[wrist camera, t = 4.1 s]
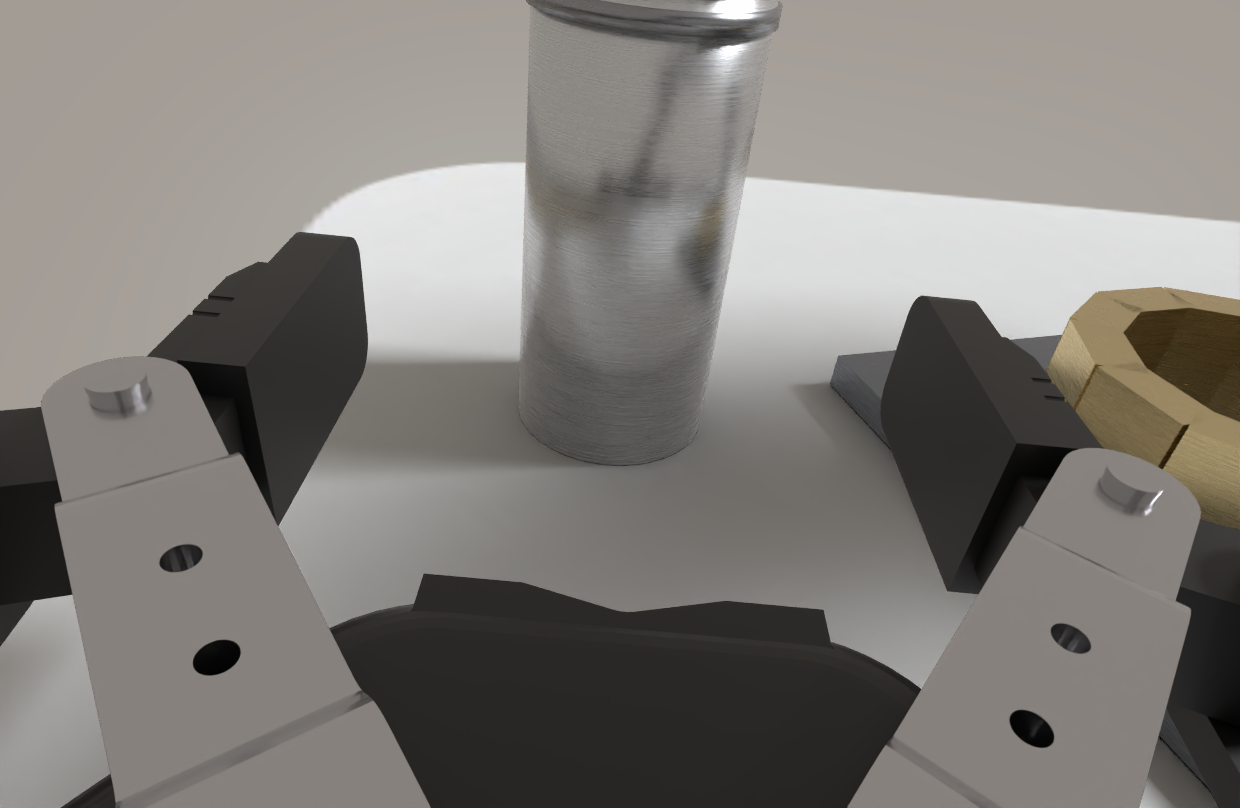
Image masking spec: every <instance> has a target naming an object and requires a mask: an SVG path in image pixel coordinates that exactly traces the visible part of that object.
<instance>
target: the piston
mask: <svg viewBox="0 0 1240 808" xmlns="http://www.w3.org/2000/svg"><path fill="white" fill-rule="evenodd" d="M526 2H527V3H528V4H529V5H531V7H530V39H529V40H530V41H529V74H528V75H529V76H528V106H527V140H526V173H525V207H524V240H523V274H522V307H521V341H520V374H519V413H520V417H521V419H522V421H523V423H524V425H525V427H526V428H527V429H528V431H529V432H530V433H531V434H532V435H533V436H534V437H535V438H536V439H538V440H539V441H540V442H542V443H543V444H544V445H546V446H548V447H550V448H551V449H553V450H555V451H557V452H559V453H562V454H564V455H567V456H569V457H572V458H575V459H579V460H583V461H587V462H592V463H598V464H607V465H634V464H642V463H648V462H653V461H656V460H660V459H663V458H665V457H668V456H670V455H673V454H674V453H676V452H678V451H680V450H681V449H683V448H684V447H685V446H686V445H688V444H689V443H690V441H691V440H692V439H693V438H694V436H695V435H696V433H697V431H698V428H699V424H700V419H701V413H702V408H703V402H704V397H705V392H706V386H707V381H708V376H709V370H710V365H711V360H712V354H713V349H714V343H715V338H716V333H717V327H718V322H719V317H720V311H721V306H722V300H723V295H724V290H725V284H726V279H727V274H728V268H729V263H730V258H731V252H732V247H733V241H734V236H735V231H736V225H737V220H738V215H739V209H740V204H741V198H742V193H743V188H744V182H745V177H746V172H747V166H748V161H749V155H750V150H751V145H752V139H753V134H754V129H755V123H756V118H757V112H758V107H759V102H760V96H761V91H762V86H763V80H764V75H765V70H766V64H767V59H768V53H769V48H770V43H771V37H772V33H773V32H775V31H776V30H777V29H778V27H779V22H780V16H781V11H782V4H781V3H780V2H779V1H778V0H526Z"/></svg>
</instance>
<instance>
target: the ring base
mask: <svg viewBox="0 0 1240 808" xmlns="http://www.w3.org/2000/svg"><path fill="white" fill-rule="evenodd" d="M1011 341H1012V342H1013V343H1015V344H1016V345H1018V346H1019V347H1020V348H1022V349H1023V350H1025V351H1026V352H1028V353H1029V354H1030V355H1032V356H1033V357H1035V358H1036V360H1037V361H1038V362H1039V364H1040V365H1041V366H1042V368H1043V369H1044V370H1045V372H1046V373H1047V374H1048V376H1049V377H1050V378H1051V384H1055V385H1056V386H1057V387H1058V389H1059V390H1060V391H1061V393H1062V394H1063V395H1064V397H1065V399H1064V402H1069V403H1070V405H1071V406H1072V407H1073V409H1074V410H1075V411H1076V413H1077V414H1078V415H1079V417H1080V418H1081V419H1082V421H1083V422H1084V423H1085V425H1086V426H1087V427H1088V428H1089V430H1090V431H1091V432H1092V434H1093V435H1094V436H1095V438H1096V439H1097V440H1098V442H1099V443H1100V444H1101V446H1102V447H1103V448H1104V449H1109V450H1114V451H1118V452H1122V453H1125V454H1129V455H1132V456H1134V457H1137V458H1140V459H1142V460H1145V461H1147V462H1149V463H1151V464H1153V465H1155V466H1157V467H1159V468H1160V469H1162V470H1164V471H1166V472H1167V473H1169V474H1170V475H1172V476H1173V477H1175V478H1176V479H1177V480H1178V481H1180V482H1181V483H1182V484H1183V485H1184V486H1185V487H1186V488H1187V489H1188V490H1189V491H1190V492H1191V493H1192V494H1193V496H1194V497H1195V498H1196V500H1197V502H1198V504H1199V506H1200V510H1201V516H1200V519H1202V520H1206V521H1209V522H1212V523H1216V524H1219V525H1223V526H1226V527H1230V528H1233V529H1237V530H1240V300H1237V299H1231V298H1225V297H1219V296H1213V295H1207V294H1201V293H1195V292H1189V291H1184V290H1178V289H1172V288H1166V287H1164V289H1163V288H1162V287H1154V288H1141V289H1127V290H1113V291H1100V292H1098V293H1097V292H1096V293H1095V294H1094V295H1093V296H1092V297H1091V298H1090V299H1089V300H1088V301H1087V302H1086V303H1085V304H1084V305H1082V306H1081V307H1080V308H1079V309H1078V310H1077V311H1076V312H1075V313H1074V314H1073V315H1072V316H1071V317H1070V319H1069V321H1068V323H1067V326H1066V328H1065V330H1064V332H1063V334H1062V335H1057V336H1046V337H1035V338H1024V339H1014V340H1011ZM895 352H896V351H885V352H874V353H864V354H853V355H842V356H838V359H837V362H836V366H835V369H834V373H833V376H832V379H831V383H830V385H831V386H832V387H833V388H834V389H835V390H836V391H837V392H838V393H839V394H840V395H841V396H842V397H843V398H844V400H845V401H846V402H847V403H848V404H849V405H850V406H851V407H852V408H853V409H854V410H855V411H856V412H857V413H858V414H859V416H860V417H861V418H862V419H863V420H864V421H865V422H866V423H867V424H868V425H869V426H870V427H871V428H872V429H873V430H874V432H875V433H876V434H877V435H878V436H879V437H880V438H881V439H882V440H883V441H884V442H885V443H886V444H887V445H888V447H889V448H890V446H889V443H888V441H887V438H886V436H885V433H884V431H883V428H882V423H881V399H882V393H883V389H884V385H885V382H886V379H887V376H888V373H889V370H890V367H891V364H892V361H893V358H894V355H895ZM890 449H891V448H890ZM1159 736H1160V737H1161V738H1162V739H1163V740H1164V741H1165V742H1166V743H1167V744H1168V746H1169V747H1170V748H1171V749H1172V750H1173V751H1174V752H1175V753H1176V754H1177V755H1178V756H1179V757H1180V758H1181V759H1182V761H1183V762H1184V763H1185V764H1186V765H1187V766H1188V767H1189V768H1190V769H1191V770H1192V771H1193V772H1194V773H1195V774H1196V775H1197V777H1198V778H1199V779H1200V780H1201V781H1202V782H1203V783H1204V784H1205V785H1206V786H1207V784H1206V782H1205V780H1204V779H1203V777H1202V775H1201V773H1200V771H1199V769H1198V767H1197V765H1196V764H1195V762H1194V760H1193V758H1192V756H1191V754H1190V752H1189V751H1188V749H1187V747H1186V745H1185V743H1184V741H1183V739H1182V737H1181V736H1180V734H1179V732H1178V730H1177V728H1176V726H1175V724H1174V722H1173V721H1172V719H1171V717H1170V715H1169V713H1168V711H1167V709H1166V710H1165V714H1164V718H1163V721H1162V725H1161V729H1160V732H1159ZM1207 787H1208V786H1207Z"/></svg>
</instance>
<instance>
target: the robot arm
mask: <svg viewBox="0 0 1240 808" xmlns="http://www.w3.org/2000/svg"><path fill="white" fill-rule="evenodd" d="M367 350H368V333H367V323H366V312H365V302H364V292H363V281H362V271H361V261H360V253H359V248H358V245H357V243H356V241H355V239H354V238H352V237H345V236H335V235H325V234H315V233H305V232H298V233H296V234H295V235H294V236H293V237H292V238H291V239H290V240H289V241H288V242H287V243H286V244H285V245H284V246H283V247H282V248H281V250H280V251H279V252H278V253H277V254H276V255H275V256H274V257H273V258H272V259H271V260H270V261H269V262H268V263H264V262H257V263H255V264H253V265H251V266H248V267H246V268H245V269H242V270H240V271H238V272H236V273H233V274H231V275H229V276H227V277H226V278H225V279H224V280H223V281H222V282H221V283H220V284H219V285H218V286H217V287H216V288H215V289H214V290H213V291H212V292H211V293H210V294H209V295H208V299H204V300H203V301H202V302H201V303H200V304H199V305H198V306H197V307H196V308H195V309H194V310H193V315H188V316H187V317H186V318H185V319H184V320H183V321H182V322H181V323H180V324H179V325H178V326H177V327H176V328H175V329H174V330H173V331H172V332H171V333H170V334H169V335H168V336H167V337H166V338H165V339H164V340H163V341H162V342H161V343H160V344H159V345H158V346H157V347H156V348H155V349H154V350H153V351H152V352H151V353H150V354H149V355H148V356H147V357H124V358H117V359H110V360H106V361H102V362H98V363H94V364H91V365H88V366H85V367H83V368H80V369H78V370H75V371H73V372H71V373H69V374H67V375H66V376H64V377H62V378H61V379H60V380H58V381H57V382H56V383H54V384H53V385H52V386H51V387H50V388H49V389H48V390H47V391H46V393H45V394H44V396H43V399H42V401H41V407H37V408H27V409H17V410H4V411H0V646H1V645H2V643H3V642H4V641H5V639H6V638H7V637H8V635H9V634H10V633H11V631H12V630H13V629H14V627H15V626H16V625H17V623H18V622H19V620H20V619H21V618H22V616H23V615H24V614H25V612H26V611H27V610H28V608H29V607H30V606H31V604H32V602H33V601H34V600H40V599H46V598H53V597H60V596H66V595H73V599H74V603H75V608H76V613H77V618H78V622H79V627H80V632H81V636H82V641H83V646H84V651H85V655H86V660H87V665H88V669H89V674H90V679H91V684H92V688H93V693H94V698H95V703H96V707H97V712H98V717H99V721H100V726H101V731H102V736H103V740H104V745H105V750H106V754H107V759H108V764H109V769H110V773H111V774H109V775H108V776H106V777H105V778H103V779H102V780H100V781H99V782H98V783H96V784H95V785H93V786H92V787H90V788H89V789H87V790H86V791H84V792H83V793H81V794H80V795H79V796H77V797H76V798H74V799H73V800H71V801H70V802H68V803H67V804H65V805H64V806H62V807H61V808H1139V806H1140V803H1141V799H1142V795H1143V792H1144V788H1145V784H1146V781H1147V777H1148V773H1149V769H1150V766H1151V762H1152V758H1153V755H1154V751H1155V747H1156V743H1157V740H1158V736H1159V732H1160V729H1161V725H1162V721H1163V718H1164V714H1165V710H1166V709H1167V711H1168V713H1169V715H1170V717H1171V719H1172V721H1173V722H1174V724H1175V726H1176V728H1177V730H1178V732H1179V734H1180V736H1181V737H1182V739H1183V741H1184V743H1185V745H1186V747H1187V749H1188V751H1189V752H1190V754H1191V756H1192V758H1193V760H1194V762H1195V764H1196V765H1197V767H1198V769H1199V771H1200V773H1201V775H1202V777H1203V779H1204V780H1205V782H1206V784H1207V786H1208V788H1209V790H1210V792H1211V794H1212V795H1213V797H1214V799H1215V801H1216V803H1217V805H1218V807H1219V808H1240V530H1237V529H1233V528H1230V527H1226V526H1223V525H1219V524H1216V523H1212V522H1209V521H1206V520H1202V519H1200V516H1201V510H1200V506H1199V504H1198V502H1197V500H1196V498H1195V497H1194V496H1193V494H1192V493H1191V492H1190V491H1189V490H1188V489H1187V488H1186V487H1185V486H1184V485H1183V484H1182V483H1181V482H1180V481H1178V480H1177V479H1176V478H1175V477H1173V476H1172V475H1170V474H1169V473H1167V472H1166V471H1164V470H1162V469H1160V468H1159V467H1157V466H1155V465H1153V464H1151V463H1149V462H1147V461H1145V460H1142V459H1140V458H1137V457H1134V456H1132V455H1129V454H1125V453H1122V452H1118V451H1114V450H1109V449H1104V448H1103V447H1102V446H1101V444H1100V443H1099V442H1098V440H1097V439H1096V438H1095V436H1094V435H1093V434H1092V432H1091V431H1090V430H1089V428H1088V427H1087V426H1086V425H1085V423H1084V422H1083V421H1082V419H1081V418H1080V417H1079V415H1078V414H1077V413H1076V411H1075V410H1074V409H1073V407H1072V406H1071V405H1070V403H1069V402H1064V399H1065V397H1064V395H1063V394H1062V393H1061V391H1060V390H1059V389H1058V387H1057V386H1056V385H1055V384H1051V378H1050V377H1049V376H1048V374H1047V373H1046V372H1045V370H1044V369H1043V368H1042V366H1041V365H1040V364H1039V362H1038V361H1037V360H1036V358H1035V357H1033V356H1032V355H1030V354H1029V353H1028V352H1026V351H1025V350H1023V349H1022V348H1020V347H1019V346H1018V345H1016V344H1015V343H1013V342H1012V341H1011V340H1009V339H1008V338H1006V337H1001V336H1000V334H999V333H998V331H997V330H996V329H995V327H994V326H993V325H992V323H991V322H990V320H989V319H988V318H987V316H986V315H985V313H984V312H983V311H982V309H981V308H980V306H979V305H978V304H977V303H976V302H975V301H970V300H960V299H950V298H940V297H930V296H920V297H918V298H917V299H916V300H915V301H914V303H913V305H912V307H911V309H910V311H909V314H908V316H907V319H906V322H905V325H904V328H903V331H902V334H901V337H900V340H899V343H898V346H897V349H896V352H895V355H894V358H893V361H892V364H891V367H890V370H889V373H888V376H887V379H886V382H885V385H884V389H883V393H882V399H881V423H882V428H883V431H884V433H885V436H886V438H887V441H888V443H889V446H890V448H891V451H892V453H893V456H894V458H895V461H896V463H897V466H898V468H899V471H900V473H901V476H902V478H903V481H904V483H905V486H906V488H907V491H908V493H909V496H910V498H911V501H912V503H913V506H914V508H915V511H916V513H917V516H918V518H919V521H920V523H921V526H922V528H923V531H924V533H925V536H926V538H927V541H928V543H929V546H930V549H931V551H932V554H933V556H934V559H935V561H936V564H937V566H938V569H939V571H940V574H941V576H942V579H943V581H944V584H945V586H946V589H947V591H951V592H961V593H972V594H979V595H978V596H977V598H976V600H975V601H974V603H973V605H972V606H971V608H970V610H969V611H968V613H967V615H966V616H965V618H964V620H963V621H962V623H961V625H960V626H959V628H958V630H957V631H956V633H955V635H954V636H953V638H952V640H951V641H950V643H949V645H948V646H947V648H946V650H945V651H944V653H943V655H942V656H941V658H940V659H939V661H938V663H937V664H936V666H935V668H934V669H933V671H932V673H931V674H930V676H929V678H928V679H927V681H926V683H925V684H924V686H923V688H922V689H920V688H919V687H918V686H916V685H915V684H914V683H912V682H911V681H910V680H908V679H907V678H905V677H904V676H902V675H900V674H899V673H897V672H896V671H894V670H892V669H891V668H889V667H888V666H886V665H884V664H882V663H880V662H878V661H876V660H874V659H872V658H870V657H868V656H866V655H864V654H862V653H859V652H857V651H855V650H852V649H850V648H847V647H845V646H842V645H839V644H836V643H833V642H830V637H829V633H828V628H827V624H826V619H825V615H824V611H823V610H820V609H809V608H798V607H787V606H776V605H765V604H754V603H743V602H732V601H722V602H714V603H705V604H697V605H688V606H680V607H671V608H663V609H655V610H646V611H638V612H620V611H616V610H612V609H609V608H605V607H602V606H599V605H595V604H592V603H589V602H585V601H582V600H579V599H576V598H572V597H569V596H566V595H562V594H559V593H556V592H552V591H549V590H546V589H542V588H539V587H536V586H532V585H529V584H526V583H522V582H511V581H500V580H488V579H477V578H466V577H455V576H444V575H433V574H424V575H423V578H422V581H421V584H420V587H419V590H418V594H417V597H416V600H415V603H414V604H412V605H404V606H398V607H393V608H388V609H384V610H379V611H375V612H372V613H369V614H366V615H362V616H359V617H356V618H353V619H350V620H348V621H346V622H343V623H341V624H339V625H336V626H334V627H332V628H329V627H328V625H327V623H326V621H325V619H324V617H323V615H322V613H321V611H320V609H319V607H318V605H317V603H316V601H315V599H314V597H313V595H312V593H311V591H310V589H309V587H308V585H307V583H306V581H305V579H304V577H303V575H302V573H301V571H300V569H299V567H298V565H297V563H296V561H295V559H294V557H293V555H292V553H291V551H290V549H289V547H288V545H287V543H286V541H285V539H284V537H283V535H282V533H281V531H280V530H279V528H278V526H279V524H280V522H281V521H282V519H283V517H284V515H285V513H286V512H287V510H288V508H289V506H290V504H291V503H292V501H293V499H294V497H295V495H296V494H297V492H298V490H299V488H300V486H301V485H302V483H303V481H304V479H305V477H306V476H307V474H308V472H309V470H310V468H311V467H312V465H313V463H314V461H315V459H316V458H317V456H318V454H319V452H320V450H321V449H322V447H323V445H324V443H325V441H326V440H327V438H328V436H329V434H330V432H331V431H332V429H333V427H334V425H335V423H336V422H337V420H338V418H339V416H340V414H341V413H342V411H343V409H344V407H345V406H346V404H347V402H348V400H349V398H350V397H351V395H352V393H353V391H354V389H355V388H356V386H357V384H358V382H359V380H360V379H361V376H362V374H363V371H364V368H365V364H366V358H367Z"/></svg>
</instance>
